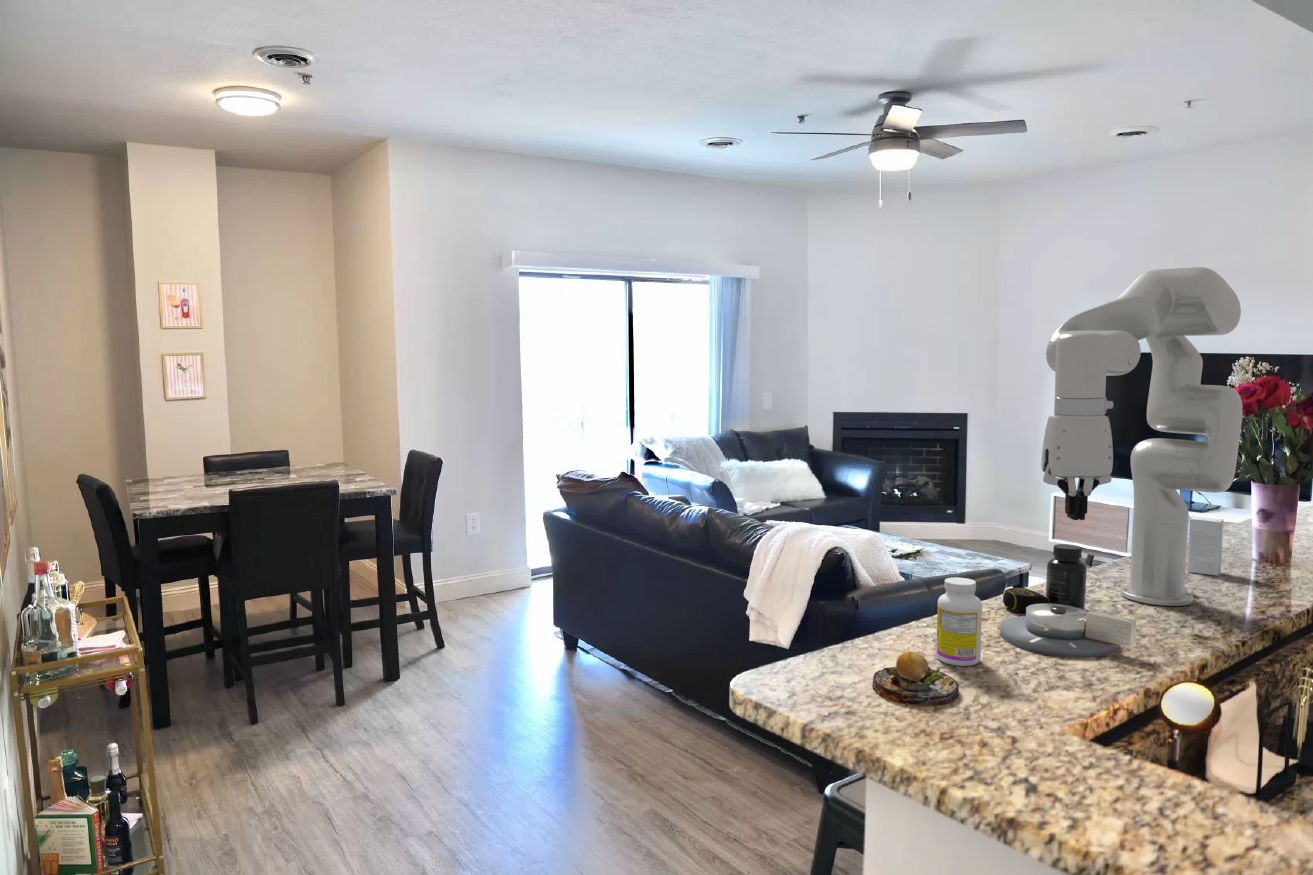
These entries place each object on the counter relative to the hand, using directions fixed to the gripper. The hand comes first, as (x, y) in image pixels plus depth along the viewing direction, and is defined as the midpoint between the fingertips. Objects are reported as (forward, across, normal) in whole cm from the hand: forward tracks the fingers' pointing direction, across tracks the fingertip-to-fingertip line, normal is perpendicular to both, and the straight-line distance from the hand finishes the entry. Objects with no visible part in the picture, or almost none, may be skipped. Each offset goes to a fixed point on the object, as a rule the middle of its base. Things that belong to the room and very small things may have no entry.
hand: (1075, 518), depth 149 cm
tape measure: (+22, +1, -19) cm, 29 cm away
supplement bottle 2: (+22, -7, -19) cm, 30 cm away
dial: (+19, 0, +2) cm, 19 cm away
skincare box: (+24, -49, -48) cm, 73 cm away
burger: (+20, +32, +23) cm, 44 cm away
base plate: (+21, +2, -1) cm, 21 cm away
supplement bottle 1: (+21, +22, +10) cm, 32 cm away
